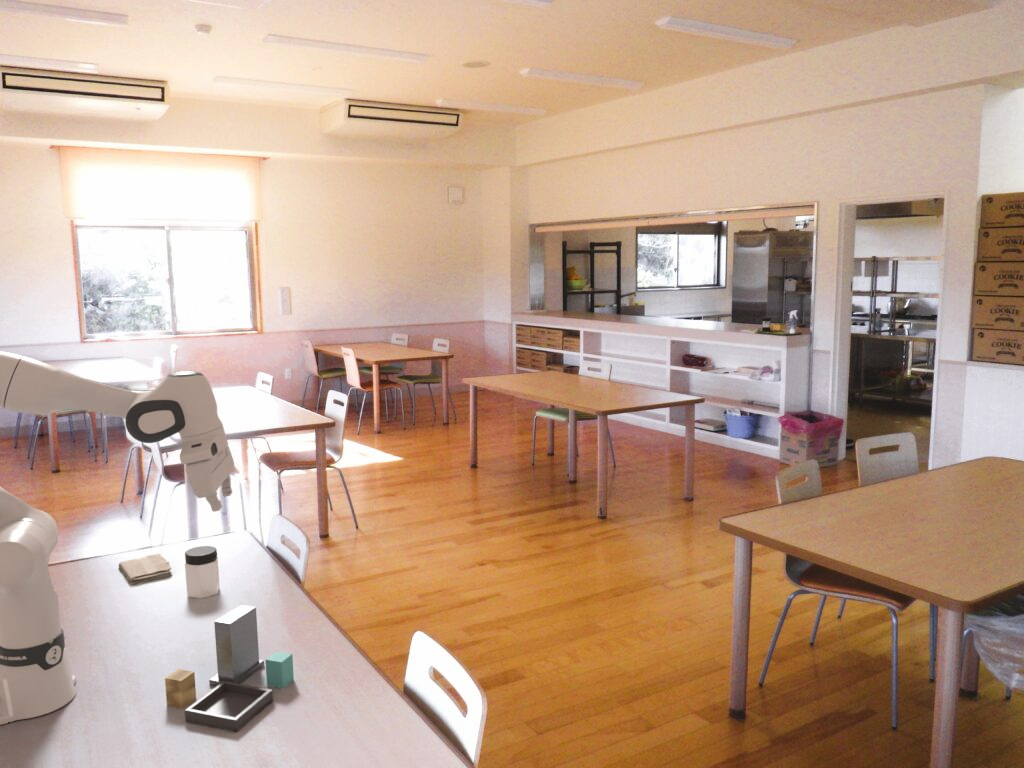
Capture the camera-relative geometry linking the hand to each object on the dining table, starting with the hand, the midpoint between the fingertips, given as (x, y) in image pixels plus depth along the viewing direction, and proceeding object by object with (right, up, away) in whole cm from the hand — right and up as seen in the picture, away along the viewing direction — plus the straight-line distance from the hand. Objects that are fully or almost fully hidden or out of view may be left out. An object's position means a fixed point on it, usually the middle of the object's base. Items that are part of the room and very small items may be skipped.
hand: (223, 502), depth 181 cm
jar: (-22, -32, +47) cm, 60 cm away
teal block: (+13, -39, -2) cm, 41 cm away
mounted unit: (+3, -38, +1) cm, 38 cm away
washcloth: (-45, -30, +63) cm, 83 cm away
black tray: (+6, -40, -14) cm, 43 cm away
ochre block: (-5, -40, -10) cm, 41 cm away
